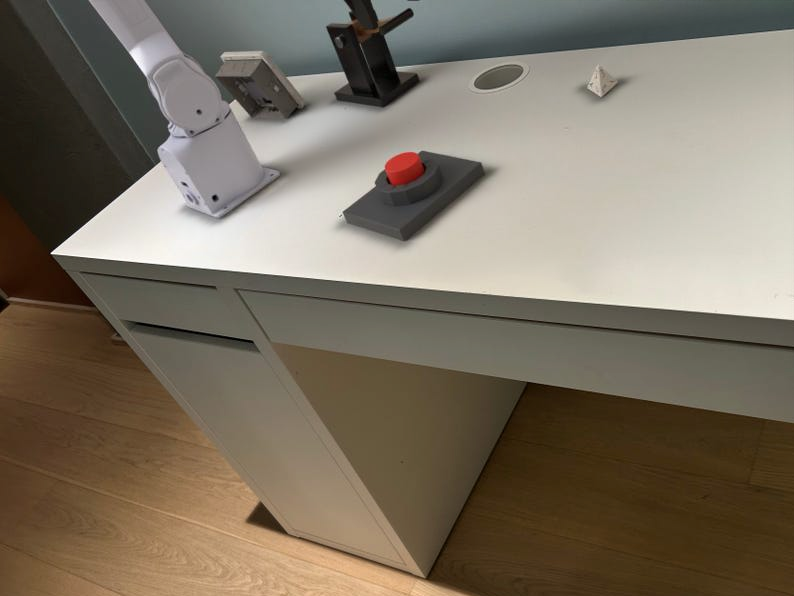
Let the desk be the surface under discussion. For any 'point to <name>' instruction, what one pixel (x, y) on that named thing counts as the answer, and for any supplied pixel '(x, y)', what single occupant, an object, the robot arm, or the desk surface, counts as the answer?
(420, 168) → the button
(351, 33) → the bracket
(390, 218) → the button box
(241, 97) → the electrical switch
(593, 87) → the tetrahedral die
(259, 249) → the desk surface
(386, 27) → the lever
